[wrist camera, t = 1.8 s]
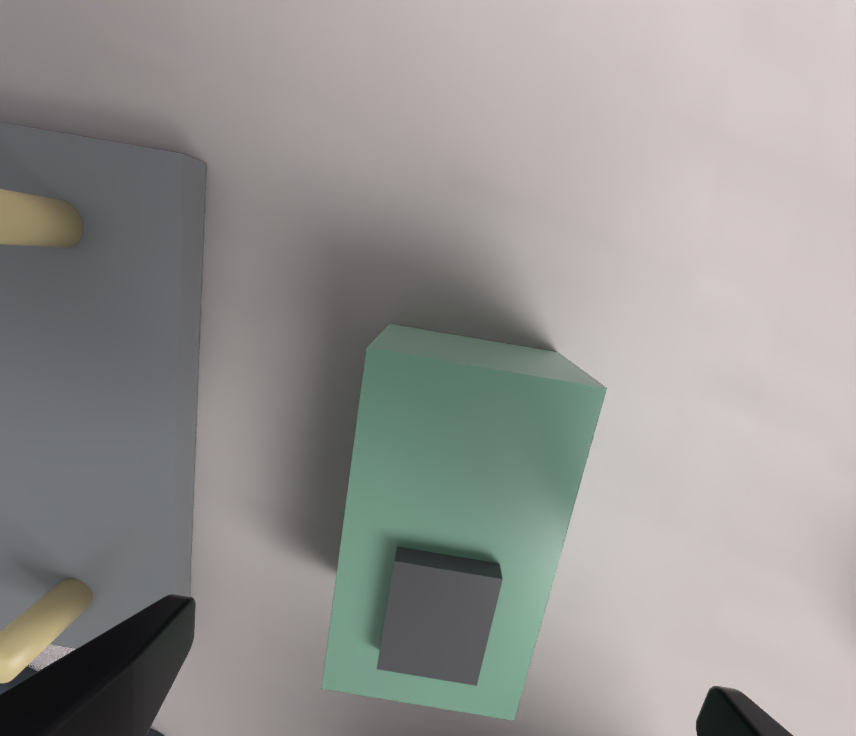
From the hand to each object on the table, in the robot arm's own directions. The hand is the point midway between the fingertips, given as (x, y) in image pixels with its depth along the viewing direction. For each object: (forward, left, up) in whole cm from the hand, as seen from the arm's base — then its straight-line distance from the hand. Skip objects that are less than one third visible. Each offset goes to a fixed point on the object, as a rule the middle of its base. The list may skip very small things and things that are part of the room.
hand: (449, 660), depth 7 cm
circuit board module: (0, 0, -7) cm, 7 cm away
